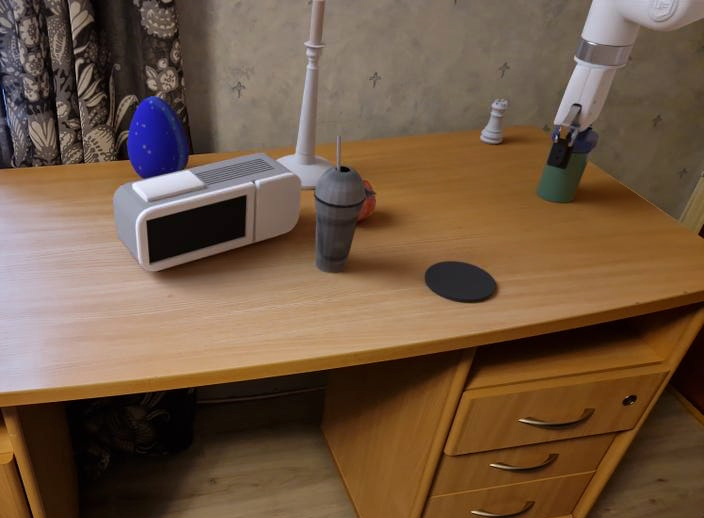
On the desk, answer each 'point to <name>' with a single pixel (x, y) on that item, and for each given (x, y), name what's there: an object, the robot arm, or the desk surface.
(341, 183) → the beverage cup
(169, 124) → the ornament
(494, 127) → the rook chess piece
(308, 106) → the candlestick
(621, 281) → the desk surface
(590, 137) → the lid
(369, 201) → the pomegranate
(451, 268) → the coaster
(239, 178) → the alarm clock
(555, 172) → the jar
